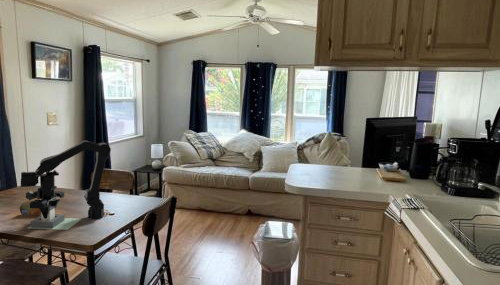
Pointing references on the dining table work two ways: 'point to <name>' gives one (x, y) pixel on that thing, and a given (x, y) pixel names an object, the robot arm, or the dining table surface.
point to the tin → (29, 209)
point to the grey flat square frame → (47, 222)
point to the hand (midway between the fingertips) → (48, 216)
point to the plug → (49, 214)
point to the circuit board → (63, 224)
